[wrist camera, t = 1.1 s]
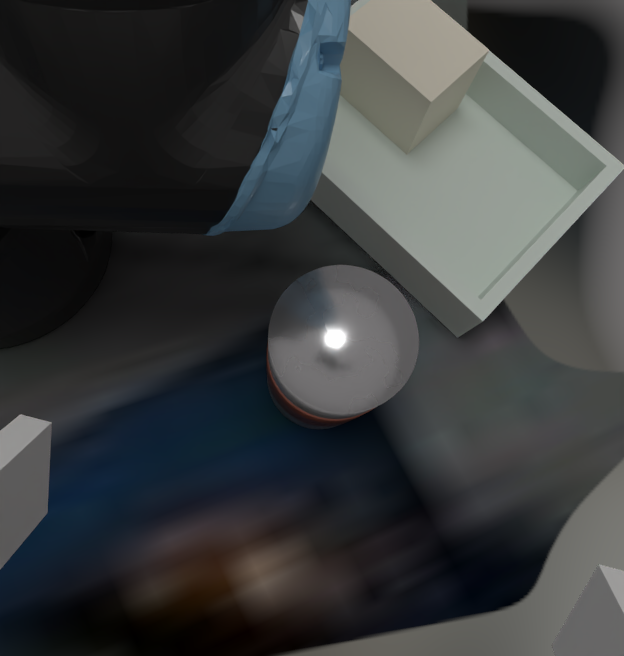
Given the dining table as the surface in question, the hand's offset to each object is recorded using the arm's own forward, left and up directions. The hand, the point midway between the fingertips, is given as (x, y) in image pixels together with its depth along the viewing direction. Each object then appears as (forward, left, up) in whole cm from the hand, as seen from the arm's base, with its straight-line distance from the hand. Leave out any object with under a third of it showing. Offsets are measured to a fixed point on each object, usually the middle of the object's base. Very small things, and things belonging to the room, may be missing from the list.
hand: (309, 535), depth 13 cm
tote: (-9, +24, -22) cm, 34 cm away
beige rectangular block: (-14, +26, -21) cm, 37 cm away
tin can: (-3, +7, -22) cm, 23 cm away
